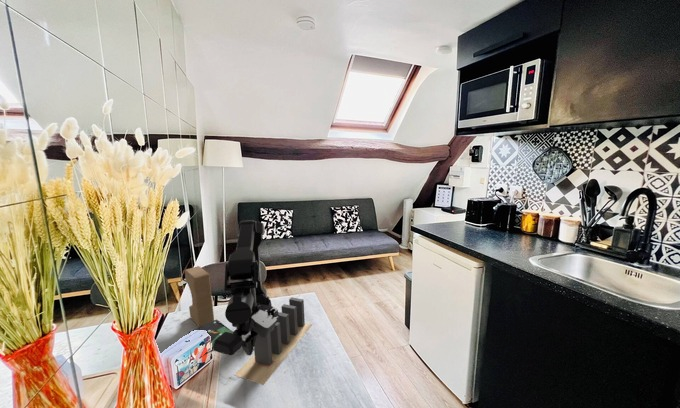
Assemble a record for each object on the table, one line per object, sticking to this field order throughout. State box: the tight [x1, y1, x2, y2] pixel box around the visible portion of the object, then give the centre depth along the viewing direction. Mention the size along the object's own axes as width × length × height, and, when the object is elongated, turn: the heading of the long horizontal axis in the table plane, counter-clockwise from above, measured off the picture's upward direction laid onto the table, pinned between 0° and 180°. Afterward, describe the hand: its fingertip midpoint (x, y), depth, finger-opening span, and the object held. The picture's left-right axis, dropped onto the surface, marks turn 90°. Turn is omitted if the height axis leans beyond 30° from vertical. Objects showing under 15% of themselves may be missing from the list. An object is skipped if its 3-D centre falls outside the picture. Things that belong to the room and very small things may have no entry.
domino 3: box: [288, 296, 306, 327], centre depth 101 cm, size 2×5×10 cm, turn 69°
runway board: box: [234, 322, 313, 386], centre depth 90 cm, size 10×29×1 cm, turn 158°
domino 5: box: [278, 311, 290, 345], centre depth 92 cm, size 2×5×10 cm, turn 69°
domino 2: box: [270, 322, 282, 355], centre depth 87 cm, size 2×5×10 cm, turn 69°
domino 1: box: [253, 334, 272, 366], centre depth 83 cm, size 2×5×10 cm, turn 69°
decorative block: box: [184, 265, 215, 329], centre depth 107 cm, size 11×6×20 cm, turn 43°
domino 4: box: [280, 303, 298, 336], centre depth 96 cm, size 2×5×10 cm, turn 69°
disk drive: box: [188, 319, 234, 351], centre depth 97 cm, size 10×3×15 cm
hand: (249, 354), depth 77 cm, fingers closed
